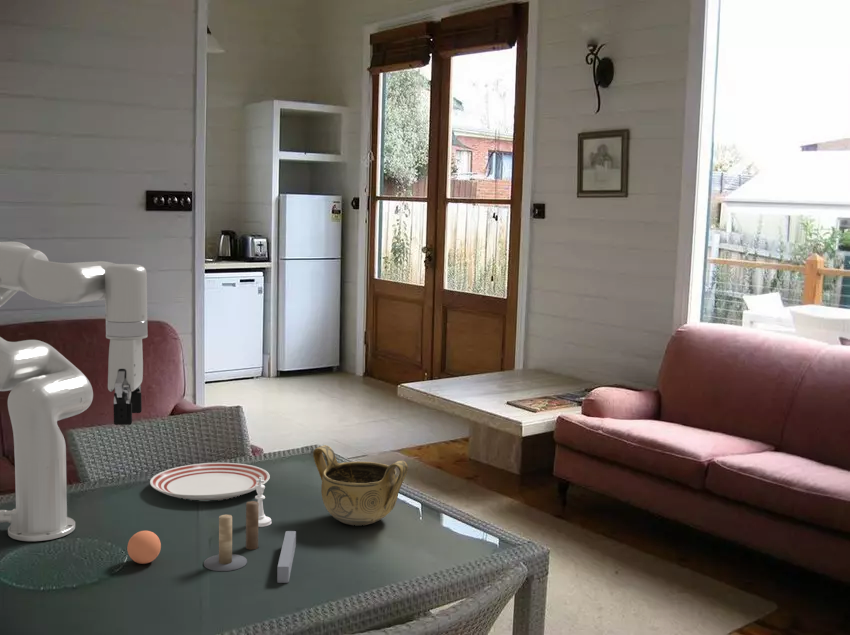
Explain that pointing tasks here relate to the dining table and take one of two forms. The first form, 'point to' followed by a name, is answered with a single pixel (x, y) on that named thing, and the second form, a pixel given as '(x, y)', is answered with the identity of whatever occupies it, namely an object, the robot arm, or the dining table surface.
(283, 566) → the back wall
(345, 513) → the ceramic bowl
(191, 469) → the dinner plate
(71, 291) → the robot arm
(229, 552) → the beech pin
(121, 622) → the dining table surface
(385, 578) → the dining table surface
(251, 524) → the walnut pin
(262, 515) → the chess piece
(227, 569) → the pin spot
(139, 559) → the ball
